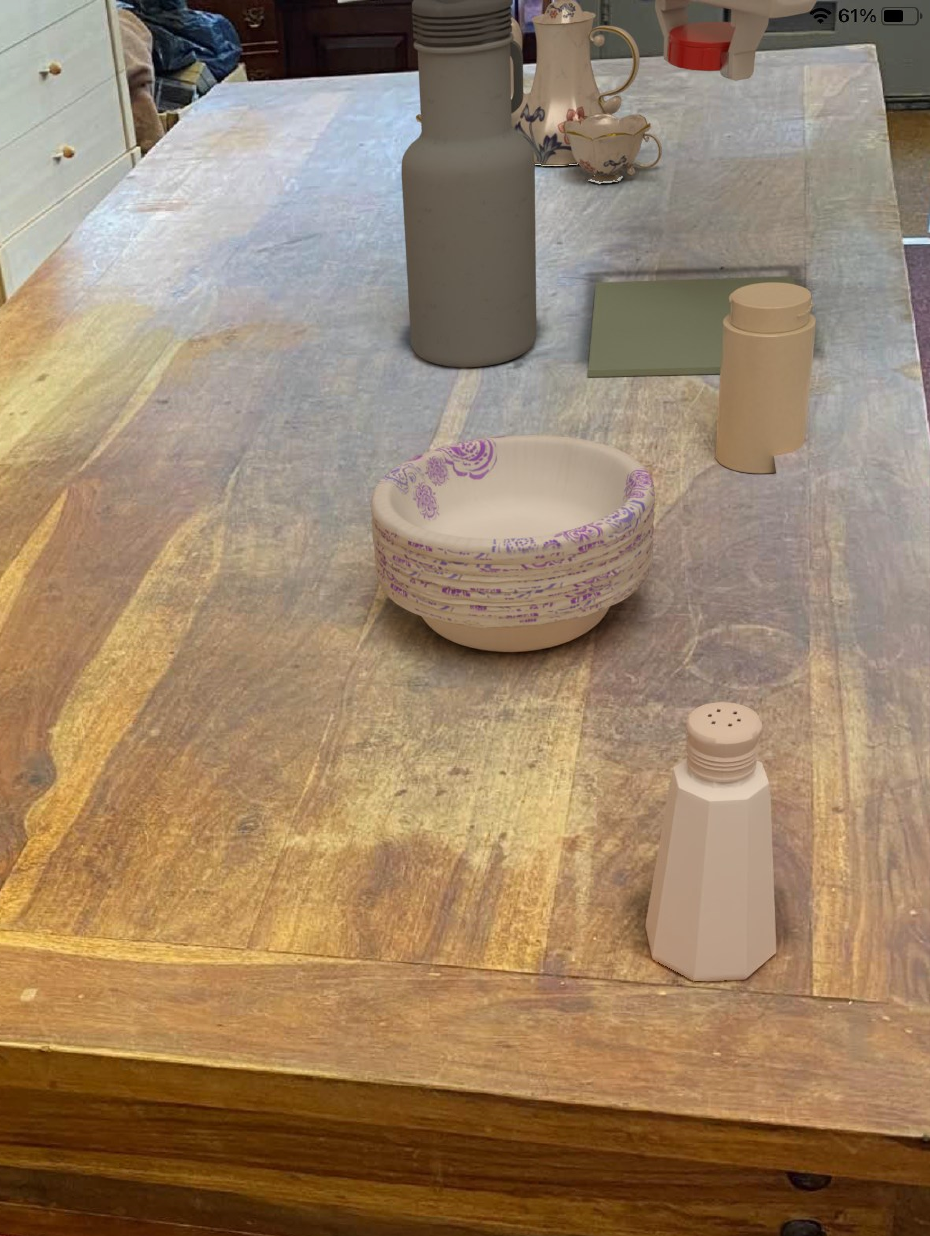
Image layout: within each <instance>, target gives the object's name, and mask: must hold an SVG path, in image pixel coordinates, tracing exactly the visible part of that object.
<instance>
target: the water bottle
mask: <svg viewBox="0 0 930 1236" xmlns="http://www.w3.org/2000/svg"><path fill="white" fill-rule="evenodd" d="M513 4H514V0H412V2H411V13H412V15H411V17H412V31H413V32H412V35H413V36H412V38H413V39H415V41H414V42H413V48H414V49H415V50H416V51H417V62H418V63H417V64H418V65H417V67H418V83H419V84H418V85H419V107H420V109H419V110H420V114H421V123H420V125H421V126H420V127H421V131H420V135H419V136H418V137H417V138H416V139H415V140H414V141H413V142H411V143H410V145H409V146H408V147H407V149H406V150H405V152H404V153H403V155H402V158H401V189H402V191H401V192H402V205H403V206H402V208H403V226H404V242H405V243H404V244H405V262H406V277H407V278H406V279H407V280H406V281H407V296H408V298H407V299H408V314H409V333H410V344H411V347H412V349H413V351H414V352H415V354H416V355H417V356H419V357H420V358H421V359H423V360H425V361H427V362H430V363H432V364H435V365H439V366H445V367H453V368H480V367H486V366H487V367H488V366H494V365H498V364H502V363H507V362H509V361H511V360H514V359H516V358H519V357H520V356H522V355H523V354H525V353H527V352H528V351H530V349H531V348H532V346H533V345H534V343H535V341H536V338H537V332H538V331H537V252H536V251H537V250H536V249H537V248H536V247H537V244H536V243H537V242H536V165H535V161H534V153H533V149H532V146H531V145H530V143H529V142H528V141H527V139H526V138H525V137H524V136H523V135H521V134H520V133H518V132H517V131H515V130H514V129H513V127H512V121H511V113H514V112H515V111H516V110H517V109H518V108H519V107H520V106H521V104H522V101H523V92H524V55H523V48H522V49H521V47H520V46H519V44H518V43H517V42H515V41H514V40H513V39H514V36H513V34H512V33H511V32H512V26H511V24H512V20H511V18H512V17H513V15H512V13H511V12H513V10H512V9H513V8H512V6H513ZM510 56H511V58H512V60H513V77H514V93H513V97H512V99H511V66H510Z"/></svg>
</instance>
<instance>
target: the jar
mask: <svg viewBox="0 0 930 1236" xmlns="http://www.w3.org/2000/svg"><path fill="white" fill-rule="evenodd" d="M812 297H813V296H812V292H811V291H810V290H809V289H808V288H807V287H804V286H801V285H797V284H796V285H794V284H788V283H774V282H772V283H758V284H752V285H747V286H744V287H741V288H739V289H737V290H735V291H734V292H733V293H731V295H730V296H729V302H731V305H730V314H728V315H727V316H726V317H725V318H724V320H723V330H722V348H721V366H720V374H719V385H718V403H717V405H718V407H717V421H716V438H715V439H716V441H715V459H716V461H717V462H718V463H719V464H720V465H722V466H723V467H725V468H726V469H730V470H733V471H735V472H741V473H747V474H775V473H777V469H776V461H775V456H776V457H777V456H782V455H786V454H790V453H793V452H796V451H797V450H800V448H802V447H803V446H804V445H805V443H806V438H807V427H808V419H809V418H808V417H809V406H810V405H809V404H810V396H811V395H810V394H811V383H812V372H813V371H812V370H813V362H814V361H813V360H814V349H815V337H816V328H817V327H816V326H817V319H816V317H815V315H813V314H812V313H811V311H812V309H813V307H814V303H813V299H812Z"/></svg>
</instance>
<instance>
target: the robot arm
mask: <svg viewBox="0 0 930 1236" xmlns="http://www.w3.org/2000/svg"><path fill="white" fill-rule="evenodd" d="M691 2H696V3H700V4H704V5H709V6H714V7H718V8H722V9H727V10H730V22H731V26H732V27H736V28H735V31H734V34H733V38H732V41H731V44H730V47H729V50H726V51H725V50H724V51H721V64H722V66H721V68H720V71H719V72H720V76H721V77H723V78H725V79H728V80H732V81H736V82H737V81H741V80H747V79H750V78H751V77H752V76H753V74H754V72H755V61H756V60H755V59H756V52H755V50H756V51H757V49H758V47H759V45H760V43H761V41H762V39H763V36H764V35H765V33H766V30H767V29H768V26H769V20H770V19H778V18H786V17H791V16H796V15H801V14H806V13H809V12H811V11H812V9H813V8H814V7H815V5H816V4H817V2H818V0H654V10H655V14H656V17H657V20H658V24H659V27H660V30H661V34H662V36H663V55H662V56H663V60H664V61H665V62H667V63H669V62H668V60H667V57H668V56H667V53H668V40H669V32H670V30H672V29H673V28H675V27H678V26H681V25H685V24H689V19H688V13H687V8H688V7H690V6H691Z"/></svg>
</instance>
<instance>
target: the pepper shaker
mask: <svg viewBox="0 0 930 1236" xmlns="http://www.w3.org/2000/svg"><path fill="white" fill-rule="evenodd" d="M763 723H764V722H763V721H762V718H761V717H760V716H759V715H758V713H756V711H755V710H754V709H752V708H750V707H748V706H745V705H743V704H741V703H735V702H730V701H729V702H727V701H716V702H709V703H705V704H703V705H700V706H698V707H696V708H695V709H693V710H692V711H691V712H690V713H689V714H688V716H687V717H686V719H685V729H686V733H687V738H686V750H685V751H686V755H687V757H686V758H684V759H682V760H681V761H680V762H679V763H677V764H676V765H674V766H673V767H672V772H671V775H670V779H669V784H668V790H667V795H666V796H667V797H666V801H665V806H664V807H665V808H664V814H663V819H662V825H661V831H660V837H659V843H658V848H657V855H656V860H655V866H654V873H653V879H652V884H651V890H650V895H649V901H648V906H647V907H648V908H647V913H646V919H645V926H644V927H645V931H646V937H647V940H648V945H649V950H650V955H651V959H652V960H653V961H654V960H655V961H654V962H656V963H658V962H659V963H660V964H659V963H658V964H659V965H661V964H663V965H664V966H663V965H662V966H663V967H665V966H667V967H668V968H667V967H666V968H667V969H669V968H670V969H669V970H671V969H672V970H671V971H673V970H674V971H673V972H675V971H676V972H675V973H677V972H678V973H680V974H681V976H682V975H684V976H685V977H684V976H683V977H684V978H686V977H688V978H689V979H688V978H687V979H688V980H690V979H691V980H690V981H692V980H693V981H692V982H694V981H706V982H722V981H723V982H724V980H727V981H745V980H746V979H748V978H749V977H750V976H751V975H753V973H754V972H756V971H757V970H758V969H759V968H760V967H761V966H763V965H764V964H766V962H767V961H768V960H769V959H771V958H772V957H773V956H774V955H776V953H777V934H776V907H775V905H776V904H775V880H774V879H775V878H774V877H775V876H774V852H773V851H774V850H773V849H774V848H773V828H772V827H773V825H772V824H773V822H772V801H771V800H772V799H771V789H770V782H769V779H768V776H767V773H766V771H765V768H764V763H763V762H762V761H759V760H757V759H758V757H759V750H760V741H759V740H760V737H761V736H762V732H763ZM678 973H677V974H678ZM680 974H679V975H680Z"/></svg>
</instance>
